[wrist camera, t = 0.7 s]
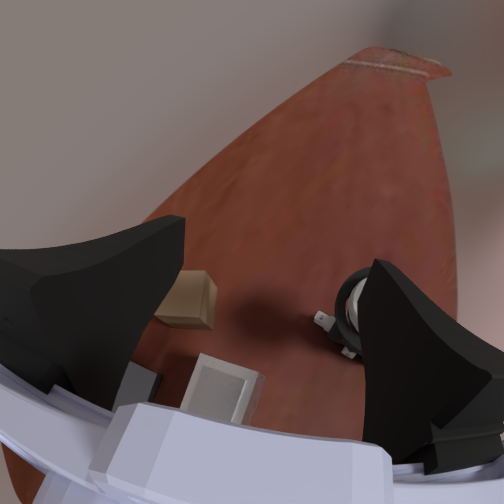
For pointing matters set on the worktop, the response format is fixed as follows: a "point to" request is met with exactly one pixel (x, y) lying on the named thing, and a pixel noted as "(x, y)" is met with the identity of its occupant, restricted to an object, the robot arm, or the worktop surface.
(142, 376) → the stand
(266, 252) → the worktop surface
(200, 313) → the tan cube
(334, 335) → the push button
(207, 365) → the block
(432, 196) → the worktop surface
